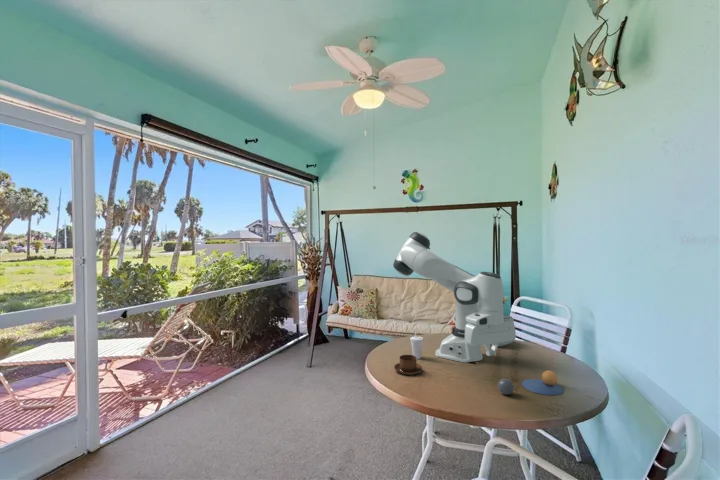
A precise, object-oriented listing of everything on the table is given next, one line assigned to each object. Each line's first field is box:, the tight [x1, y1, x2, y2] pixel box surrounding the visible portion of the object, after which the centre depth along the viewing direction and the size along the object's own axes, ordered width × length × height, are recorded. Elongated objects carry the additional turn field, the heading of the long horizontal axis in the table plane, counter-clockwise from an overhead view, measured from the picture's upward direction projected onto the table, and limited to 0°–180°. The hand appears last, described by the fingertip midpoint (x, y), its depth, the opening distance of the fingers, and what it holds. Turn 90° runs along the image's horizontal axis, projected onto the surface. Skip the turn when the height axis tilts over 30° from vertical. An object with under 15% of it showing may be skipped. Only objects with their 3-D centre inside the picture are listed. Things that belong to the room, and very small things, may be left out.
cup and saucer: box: [394, 354, 423, 375], centre depth 148 cm, size 12×12×6 cm
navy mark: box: [521, 378, 564, 396], centre depth 130 cm, size 14×14×1 cm
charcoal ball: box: [497, 378, 515, 396], centre depth 125 cm, size 6×6×6 cm
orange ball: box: [541, 370, 559, 386], centre depth 132 cm, size 6×6×6 cm
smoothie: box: [410, 328, 424, 360], centre depth 164 cm, size 6×6×14 cm
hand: (490, 355), depth 123 cm, fingers closed
